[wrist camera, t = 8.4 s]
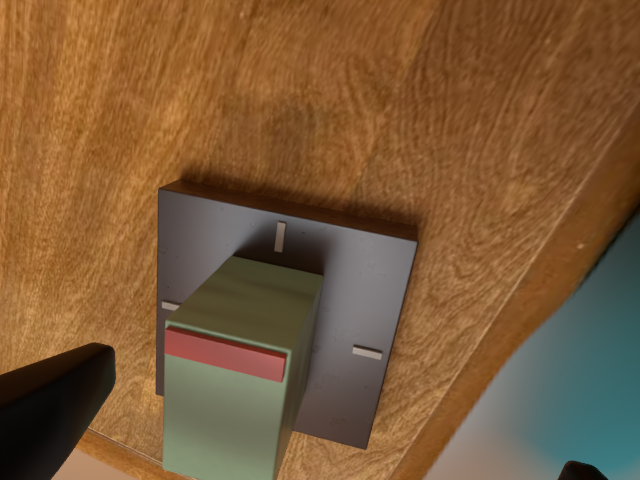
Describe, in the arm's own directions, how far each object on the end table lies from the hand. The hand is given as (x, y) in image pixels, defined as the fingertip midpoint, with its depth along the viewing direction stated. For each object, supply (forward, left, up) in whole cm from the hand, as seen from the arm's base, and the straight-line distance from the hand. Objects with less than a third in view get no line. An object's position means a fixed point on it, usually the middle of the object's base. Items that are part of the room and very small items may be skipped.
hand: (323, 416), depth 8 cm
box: (+4, +6, -11) cm, 13 cm away
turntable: (+4, +6, -13) cm, 15 cm away
